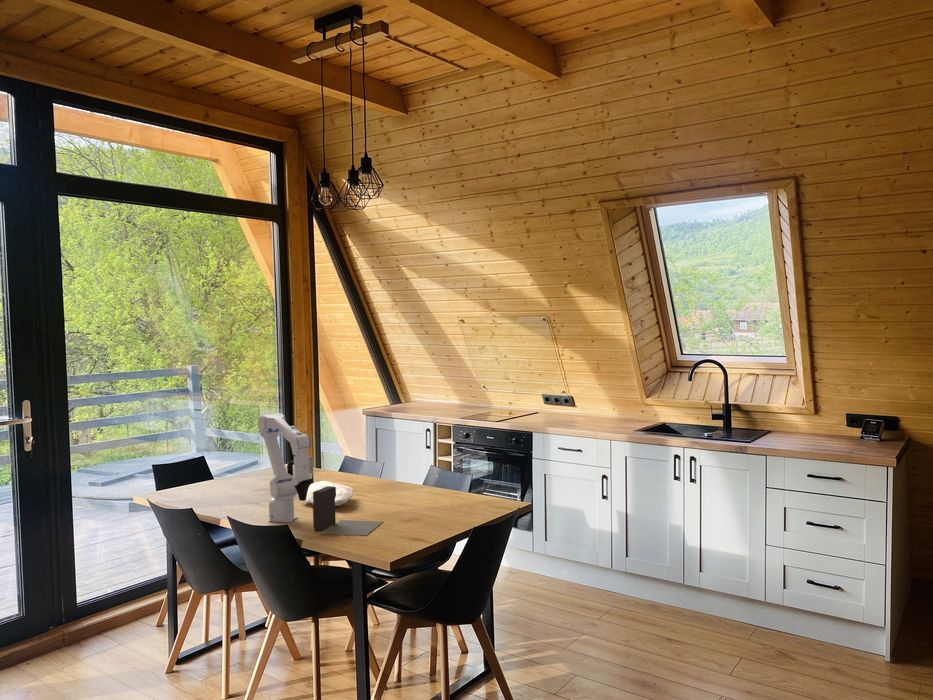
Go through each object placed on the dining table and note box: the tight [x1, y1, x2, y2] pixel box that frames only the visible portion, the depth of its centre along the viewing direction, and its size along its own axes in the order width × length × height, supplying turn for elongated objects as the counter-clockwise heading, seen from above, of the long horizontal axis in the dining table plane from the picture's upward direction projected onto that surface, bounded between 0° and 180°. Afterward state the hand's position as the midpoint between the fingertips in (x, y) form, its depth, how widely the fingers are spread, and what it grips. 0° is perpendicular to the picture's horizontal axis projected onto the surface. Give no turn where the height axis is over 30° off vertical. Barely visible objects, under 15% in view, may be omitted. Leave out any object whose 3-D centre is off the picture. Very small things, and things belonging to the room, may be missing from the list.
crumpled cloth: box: [303, 480, 355, 507], centre depth 329 cm, size 24×35×9 cm
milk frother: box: [286, 456, 315, 485], centre depth 360 cm, size 14×16×15 cm
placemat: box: [320, 519, 384, 537], centre depth 286 cm, size 18×20×1 cm
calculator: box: [312, 486, 337, 532], centre depth 288 cm, size 11×4×15 cm, turn 159°
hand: (302, 500), depth 290 cm, fingers closed
